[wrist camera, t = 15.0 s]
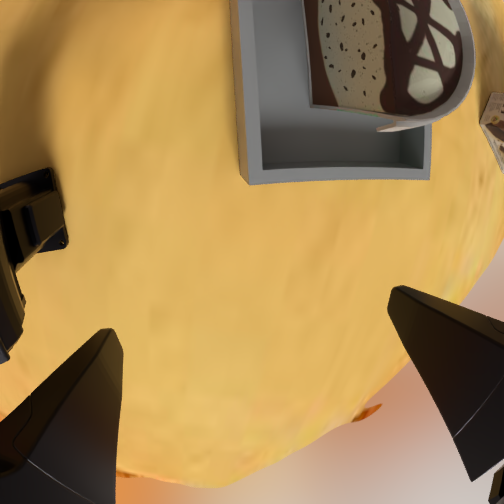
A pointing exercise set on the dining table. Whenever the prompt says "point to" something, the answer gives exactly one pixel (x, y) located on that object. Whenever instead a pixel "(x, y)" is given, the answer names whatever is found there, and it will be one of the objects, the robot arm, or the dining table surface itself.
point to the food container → (389, 58)
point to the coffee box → (495, 125)
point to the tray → (305, 111)
